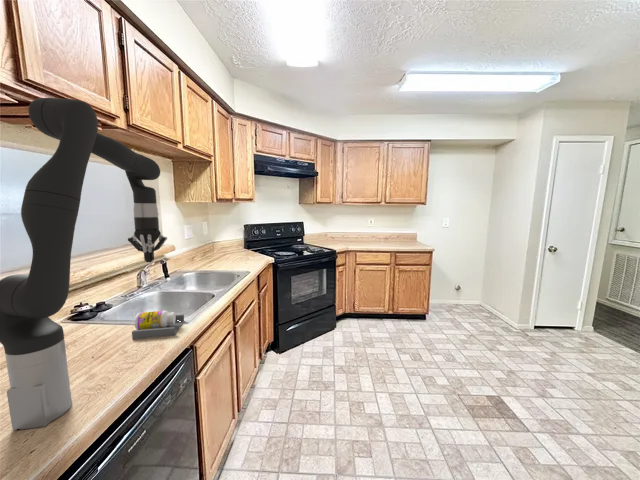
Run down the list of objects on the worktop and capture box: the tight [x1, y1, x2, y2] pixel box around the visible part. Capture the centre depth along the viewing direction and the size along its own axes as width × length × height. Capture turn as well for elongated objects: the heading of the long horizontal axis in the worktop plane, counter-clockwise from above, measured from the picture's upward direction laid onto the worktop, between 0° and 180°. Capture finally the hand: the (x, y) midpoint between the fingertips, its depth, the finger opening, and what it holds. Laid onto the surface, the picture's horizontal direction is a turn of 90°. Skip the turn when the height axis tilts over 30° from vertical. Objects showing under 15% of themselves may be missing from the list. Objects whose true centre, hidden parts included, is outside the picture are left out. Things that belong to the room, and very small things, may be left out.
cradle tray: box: [131, 313, 185, 340], centre depth 105 cm, size 13×14×3 cm
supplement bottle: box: [134, 310, 177, 330], centre depth 105 cm, size 7×7×13 cm
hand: (149, 261), depth 101 cm, fingers closed
